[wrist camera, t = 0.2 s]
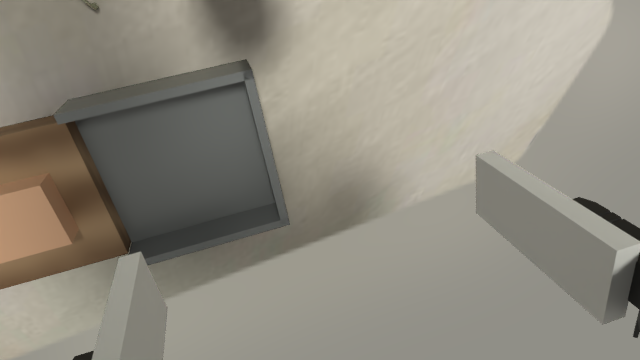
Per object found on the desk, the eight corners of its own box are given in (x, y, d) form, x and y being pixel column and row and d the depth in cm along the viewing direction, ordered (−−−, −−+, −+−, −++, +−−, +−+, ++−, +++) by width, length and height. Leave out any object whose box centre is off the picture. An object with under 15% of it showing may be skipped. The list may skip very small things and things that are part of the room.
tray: (68, 99, 38) (53, 115, 34) (246, 59, 40) (251, 69, 36) (135, 244, 46) (129, 270, 42) (282, 203, 48) (289, 224, 44)
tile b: (-26, 191, 37) (-40, 205, 34) (48, 172, 37) (39, 185, 35) (10, 247, 39) (-1, 263, 37) (78, 228, 40) (72, 244, 38)
